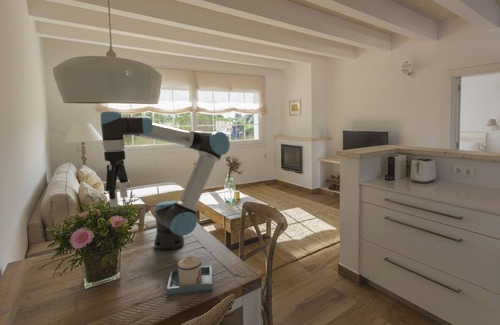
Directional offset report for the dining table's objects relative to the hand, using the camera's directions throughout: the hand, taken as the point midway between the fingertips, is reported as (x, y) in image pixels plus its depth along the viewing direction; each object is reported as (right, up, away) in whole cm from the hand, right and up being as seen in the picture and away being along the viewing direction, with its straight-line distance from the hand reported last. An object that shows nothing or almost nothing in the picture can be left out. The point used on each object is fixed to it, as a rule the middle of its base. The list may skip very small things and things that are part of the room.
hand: (119, 201), depth 114 cm
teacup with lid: (+30, -31, -4) cm, 44 cm away
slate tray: (+31, -32, -4) cm, 44 cm away
